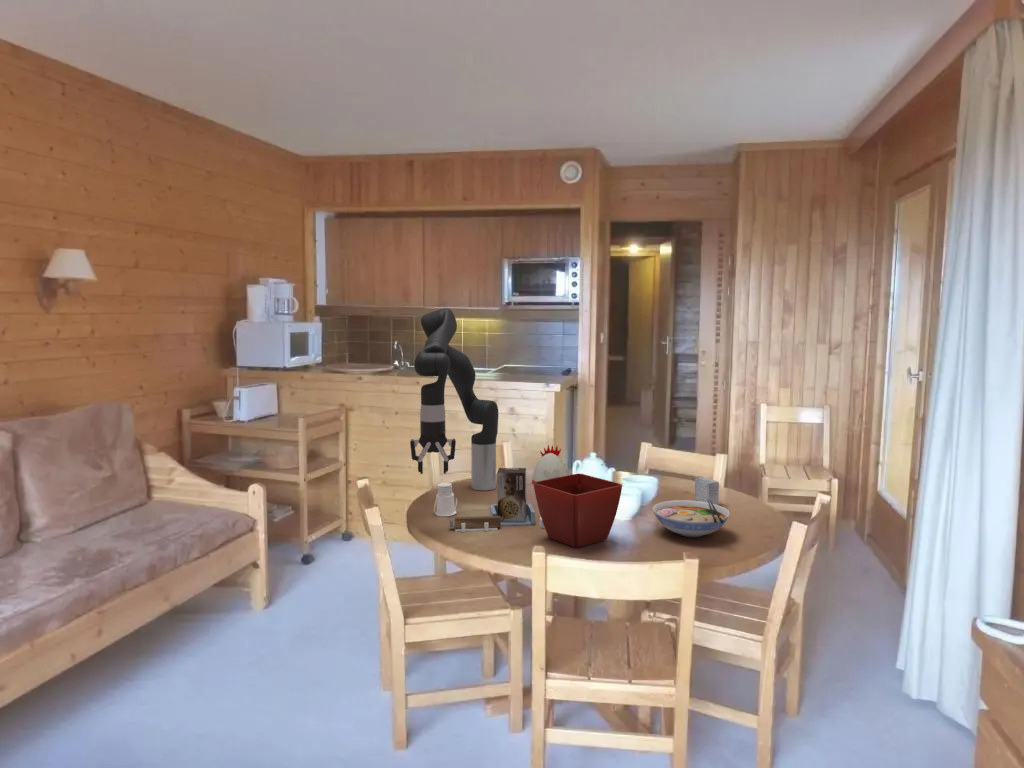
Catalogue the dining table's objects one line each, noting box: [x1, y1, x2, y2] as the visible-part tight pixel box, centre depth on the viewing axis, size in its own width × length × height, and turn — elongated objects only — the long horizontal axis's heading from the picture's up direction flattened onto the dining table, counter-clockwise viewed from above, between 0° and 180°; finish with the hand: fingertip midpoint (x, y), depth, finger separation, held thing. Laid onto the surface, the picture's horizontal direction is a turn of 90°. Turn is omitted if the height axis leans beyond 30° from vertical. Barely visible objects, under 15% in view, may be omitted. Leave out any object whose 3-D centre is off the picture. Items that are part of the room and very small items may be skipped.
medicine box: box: [694, 476, 720, 505], centre depth 254 cm, size 8×4×9 cm, turn 22°
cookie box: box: [496, 467, 527, 522], centre depth 234 cm, size 9×6×16 cm
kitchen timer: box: [531, 444, 568, 486], centre depth 282 cm, size 14×14×15 cm
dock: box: [489, 502, 536, 527], centre depth 234 cm, size 10×13×4 cm
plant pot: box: [533, 473, 623, 548], centre depth 216 cm, size 19×19×17 cm
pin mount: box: [454, 516, 545, 533], centre depth 227 cm, size 6×28×2 cm, turn 96°
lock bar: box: [449, 515, 502, 530], centre depth 226 cm, size 3×16×3 cm, turn 96°
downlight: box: [433, 482, 458, 517], centre depth 242 cm, size 8×7×10 cm
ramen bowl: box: [652, 499, 731, 538], centre depth 221 cm, size 25×23×8 cm
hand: (433, 473), depth 223 cm, fingers open, 6 cm apart
